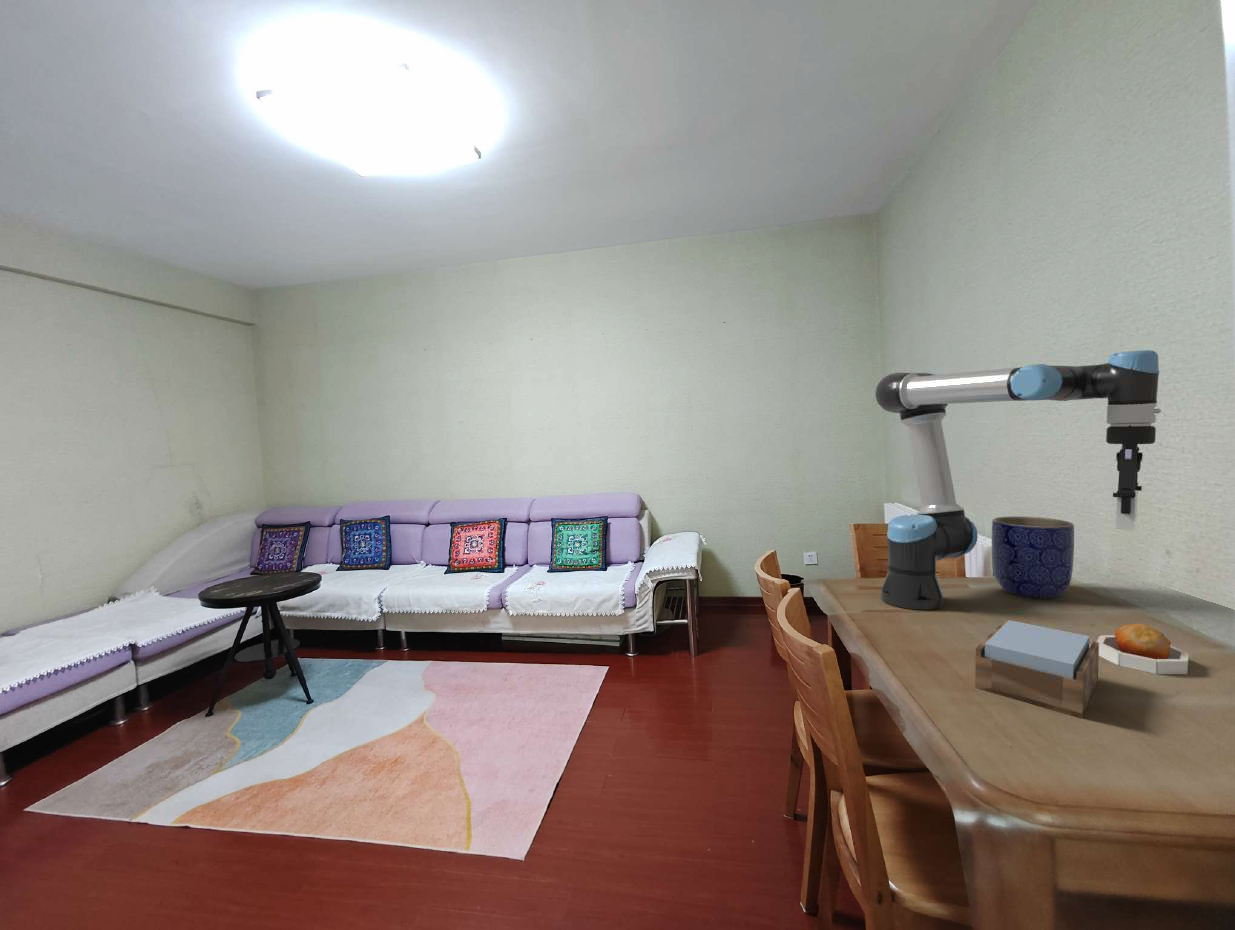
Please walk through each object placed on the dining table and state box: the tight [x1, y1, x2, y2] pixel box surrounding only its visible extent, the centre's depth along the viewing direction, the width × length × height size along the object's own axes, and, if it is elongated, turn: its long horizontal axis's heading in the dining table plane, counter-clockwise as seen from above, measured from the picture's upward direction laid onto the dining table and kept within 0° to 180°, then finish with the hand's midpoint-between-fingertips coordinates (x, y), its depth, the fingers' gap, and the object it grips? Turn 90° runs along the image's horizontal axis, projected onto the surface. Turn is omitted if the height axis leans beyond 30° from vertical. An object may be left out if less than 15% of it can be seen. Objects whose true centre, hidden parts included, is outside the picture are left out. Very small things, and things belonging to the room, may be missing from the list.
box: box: [974, 622, 1100, 719], centre depth 99 cm, size 18×15×8 cm
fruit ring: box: [1096, 634, 1190, 675], centre depth 108 cm, size 13×13×2 cm
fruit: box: [1114, 623, 1172, 659], centre depth 108 cm, size 8×8×8 cm
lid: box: [985, 619, 1090, 679], centre depth 98 cm, size 17×12×2 cm
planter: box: [991, 515, 1075, 600], centre depth 151 cm, size 18×18×21 cm
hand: (1126, 524), depth 114 cm, fingers open, 13 cm apart
